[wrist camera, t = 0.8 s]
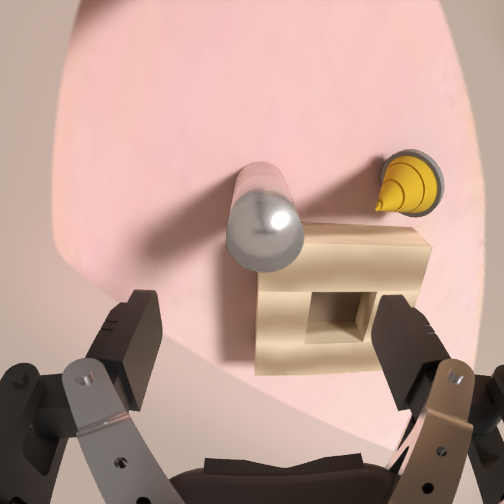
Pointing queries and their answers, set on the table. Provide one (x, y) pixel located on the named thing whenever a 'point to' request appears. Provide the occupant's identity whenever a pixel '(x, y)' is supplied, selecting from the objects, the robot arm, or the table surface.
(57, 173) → the table surface
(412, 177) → the drill bit
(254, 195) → the pin
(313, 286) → the socket block
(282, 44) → the table surface
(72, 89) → the table surface
